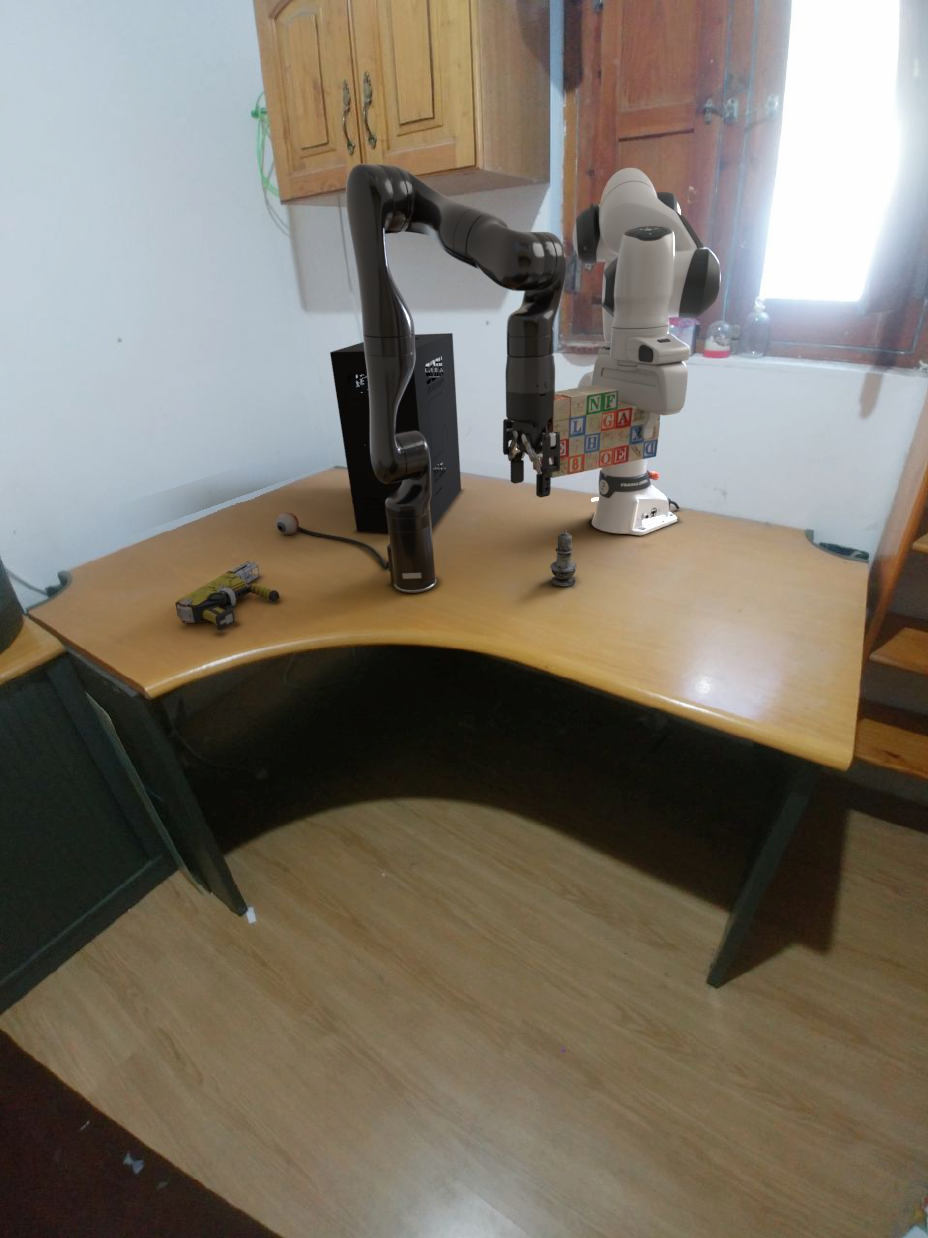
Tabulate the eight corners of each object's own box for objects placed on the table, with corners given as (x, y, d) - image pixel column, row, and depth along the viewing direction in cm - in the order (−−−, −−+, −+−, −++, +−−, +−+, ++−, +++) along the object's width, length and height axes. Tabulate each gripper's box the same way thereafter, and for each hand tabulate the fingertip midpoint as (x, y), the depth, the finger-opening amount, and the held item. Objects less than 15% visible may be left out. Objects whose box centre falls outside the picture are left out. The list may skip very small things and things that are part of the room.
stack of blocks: (633, 449, 110) (640, 378, 104) (656, 457, 105) (665, 382, 99) (531, 469, 103) (532, 393, 96) (551, 478, 98) (553, 399, 91)
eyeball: (273, 537, 164) (268, 516, 161) (287, 528, 169) (282, 508, 166) (291, 539, 161) (286, 518, 158) (305, 530, 166) (301, 510, 163)
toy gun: (300, 570, 137) (245, 558, 141) (232, 617, 117) (169, 602, 121) (302, 588, 139) (247, 576, 143) (235, 638, 119) (173, 622, 123)
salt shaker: (576, 587, 129) (578, 535, 123) (548, 586, 130) (549, 534, 124) (577, 575, 134) (579, 524, 128) (550, 574, 135) (551, 523, 129)
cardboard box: (428, 534, 159) (412, 349, 137) (356, 531, 164) (329, 352, 141) (461, 489, 191) (452, 333, 168) (400, 488, 195) (384, 335, 173)
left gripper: (487, 383, 97) (490, 482, 105) (532, 395, 85) (532, 505, 93) (528, 377, 99) (528, 474, 107) (577, 389, 88) (572, 496, 96)
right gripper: (584, 343, 104) (581, 424, 111) (665, 353, 88) (655, 448, 95) (614, 339, 106) (609, 420, 113) (699, 348, 90) (686, 442, 97)
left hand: (529, 489), depth 100 cm, fingers open, 8 cm apart
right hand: (631, 433), depth 104 cm, fingers closed on stack of blocks, 6 cm apart
